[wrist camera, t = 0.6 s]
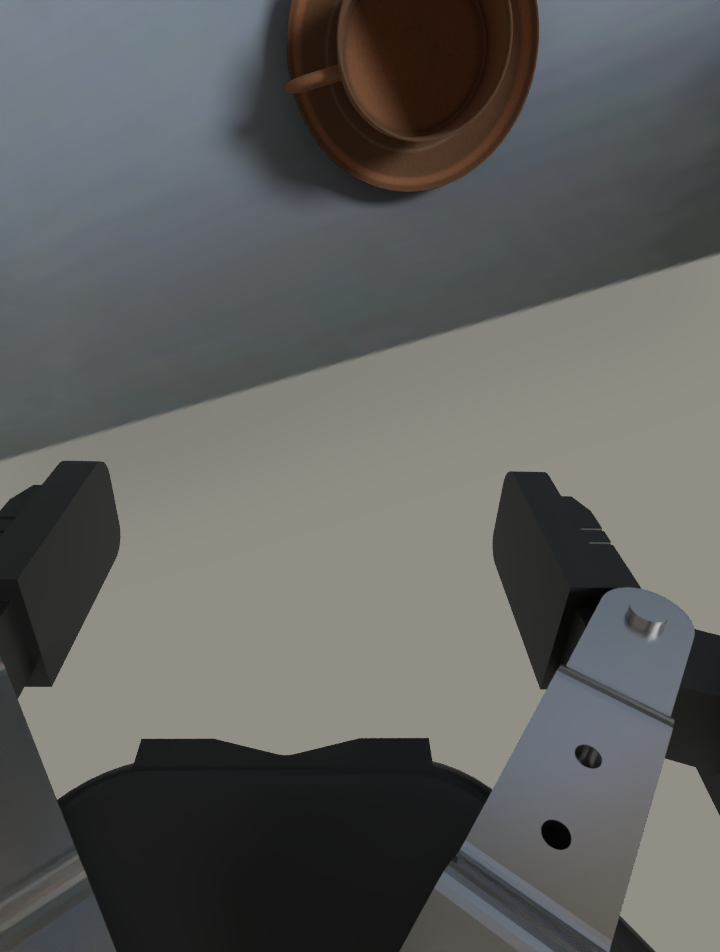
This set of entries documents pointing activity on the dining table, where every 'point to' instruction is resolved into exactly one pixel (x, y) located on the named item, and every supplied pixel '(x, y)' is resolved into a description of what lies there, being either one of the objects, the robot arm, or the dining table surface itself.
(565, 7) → the dining table surface
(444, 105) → the cup and saucer
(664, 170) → the dining table surface
